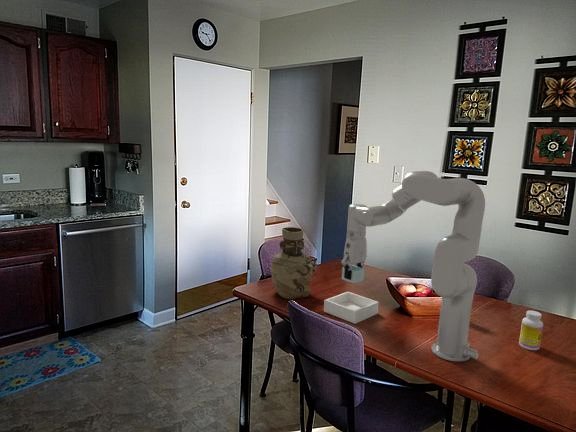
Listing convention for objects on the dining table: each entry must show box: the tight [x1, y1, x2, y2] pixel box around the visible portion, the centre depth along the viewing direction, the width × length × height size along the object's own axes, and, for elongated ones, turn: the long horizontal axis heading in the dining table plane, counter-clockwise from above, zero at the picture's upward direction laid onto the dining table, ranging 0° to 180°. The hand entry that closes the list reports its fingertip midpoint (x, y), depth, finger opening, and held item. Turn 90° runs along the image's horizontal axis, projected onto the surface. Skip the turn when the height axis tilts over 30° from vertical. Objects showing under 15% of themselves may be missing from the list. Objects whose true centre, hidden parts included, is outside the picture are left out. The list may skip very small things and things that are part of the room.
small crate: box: [341, 264, 366, 284], centre depth 178 cm, size 6×6×5 cm
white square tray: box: [323, 291, 380, 325], centre depth 181 cm, size 16×16×5 cm
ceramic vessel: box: [270, 226, 318, 300], centre depth 198 cm, size 19×21×30 cm
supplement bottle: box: [518, 310, 544, 351], centre depth 155 cm, size 7×7×13 cm
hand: (353, 276), depth 178 cm, fingers closed on small crate, 6 cm apart
